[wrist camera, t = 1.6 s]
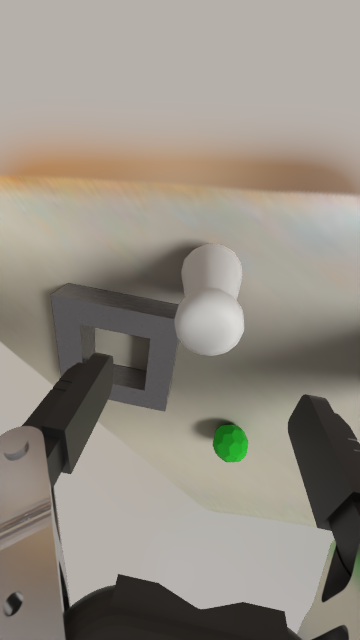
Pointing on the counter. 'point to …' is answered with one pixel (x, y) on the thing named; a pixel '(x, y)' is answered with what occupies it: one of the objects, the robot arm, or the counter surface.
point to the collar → (125, 317)
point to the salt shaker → (210, 301)
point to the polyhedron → (230, 443)
